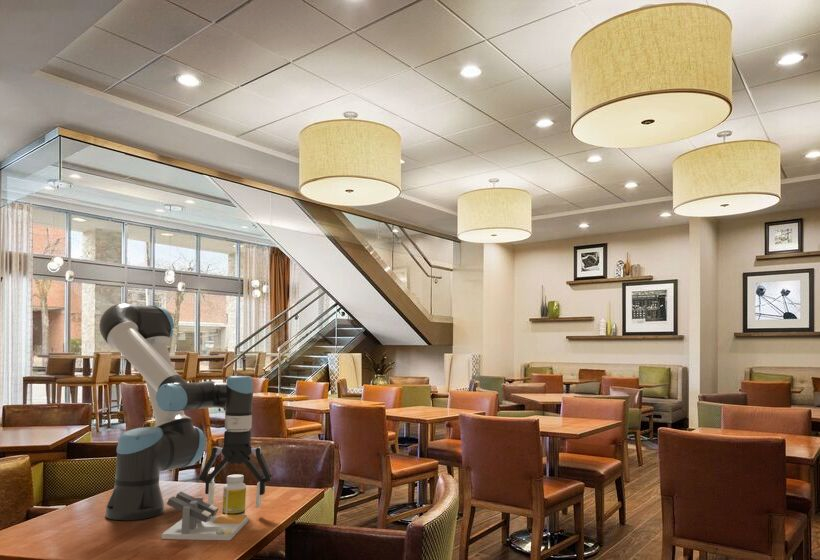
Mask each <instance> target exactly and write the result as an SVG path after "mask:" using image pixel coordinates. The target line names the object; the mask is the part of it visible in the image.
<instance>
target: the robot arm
mask: <svg viewBox="0 0 820 560" xmlns="http://www.w3.org/2000/svg"><path fill="white" fill-rule="evenodd" d="M174 321H175V320H174V318H173V316H172V314H171V313H170V311H168V310H167V309H166V308H164V307H160V306H157V305H152V304H151V305H144V304H134V303H133V304H132V303H117V304H114V305H112V306H110V307H109V308H107V309H106V310H105V311H104V312H103V314H102V315H101V317H100V320H99V331H100V335H101V337H102V338H103V339H104V341H105V342H106V343H107V344H108V346H109V347H110V348H113V349H117V350H118V352H120V353H121V354H122V355H123V357H124V358H125V359H126V360H127V361H128V362H129V363H130V365H132V367H133V368H134V369H135V370H136V371H137V372H138V373H139V374H140V375H141V377H142V378H143V379H144V380H145V383H146V388H147V393H148V396H149V400H150V404H151V407H152V412H153V417H154V421H155V425H154V426H145V427H138V428H137V427H136V428H133V429H128V430H126V431H124V432H122V433H120V435H119V436H118V439H117V440H118V441H117V446H116V460H115V461H116V463H115V474H114V475H115V476H114V487H113V490H112V492H111V494H110V497H109V500H108V502H107V505H106V506H105V517H106V518H107V519H110V520H115V521H137V520H143V519H150V518H155V517H157V516H160V515H162V514H163V513H164V509H165V502H164V498H163V495H162V491H161V487H160V476H161V475H160V474H161V472H164V471H169V470H174V469H181V468H182V469H184V468H186V467H188V466H191V465H195V464H196V463H197V462H198V461H199V460H200V459H201V458H202V456H203V453H204V451H205V448H206V437H205V433H204V432H203V430H202V429H200V428H199V427H197V426H194V424H193V420H192V418H191V417H190V416H188V415H186V414H185V411H189V410H190V411H191V410H199V409H211V408H219V409H225V412H224V414H225V415H224V429H225V431H224V434H223V436H224V437H223V447H219V446H217V445H216V446H214V447H212V448H211V453H210V454H211V455H210V456H209V458H208V460H207V462H206V464H205V466H204V468H203V469H202V471H201V473H200V475H199V477H198V480H199V481H203V482H204V483H205V487H204V493H205V495H208V498H207V504H209V505H214V502H215V500H214V499H215V498H214V497H215V483H216V482H215V480H213V479H214V478H215V477H216V476H217V475H218V474H219V473H220V471H221V470H222V469H223V468H225V466H226V465H227V464H228V463H229V464H230V465H231V464H239V465H240V464H244V465H245V466H247V468H248V470H249V471H250V472H251V473H252V474H253V476H254V478H256V479H257V481H258V482H257V484H256V494H255V497H256V498H255V504H256V505H255V508H256V509H257V508H258V509H259V508H260V507H261V506H262V496H264V495H265V493H266V483H268V482H270V481H271V480H272V479H273V475H272V472H271V471H270V469H269V466H268V464H267V462H266V460H265V458H264V454H263V448H262V446H258V447H253V448H252V431H251V429H252V424H253V422H252V421H253V401H254V391H255V390H254V379H253V377H252V376H250V375H229V376H228V377H227V378H226V382H224V381H213V380H205V381H200V382H188V381H186V380H185V379H184V378H183V377H182V376H181V375H180V374H179V373H178V372H177V371H176V370H175V369H174V367H173V364H172V359H171V358H170V357H171V356H170V353H169V349H168V345H169V344H170V342H171V337H172V336H173V334H174V328H175V322H174ZM221 453H222V455H223V457H224V458H223V459H222V460H221V461H220V462H219V463H218V465H217V466H216V467H215V468H214V470H212V471H211V473H210V474H209V472H210V470H211V468H212V467H213V465H214V463H215V462H216V459H217V457H218V456H219V455H220V454H221ZM251 454H253V455H254V456H255V457H256V460H257V462H258V464H259V468H260V469H261V470H259V468H258V467H257V466H256V464H255V463H254V461H253V459H252V458H251V456H250V455H251ZM208 474H209V475H208Z"/></svg>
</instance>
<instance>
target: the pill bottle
mask: <svg viewBox="0 0 820 560" xmlns="http://www.w3.org/2000/svg"><path fill="white" fill-rule="evenodd" d="M244 478H245V477H244V475H243V474H234V473H233V474H230V475H227V476H226V484H224V485H223V494H222V515H246V498H247V497H246V496H247V495H246V493H247V485H246V484H245V483H244V480H245V479H244Z"/></svg>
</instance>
